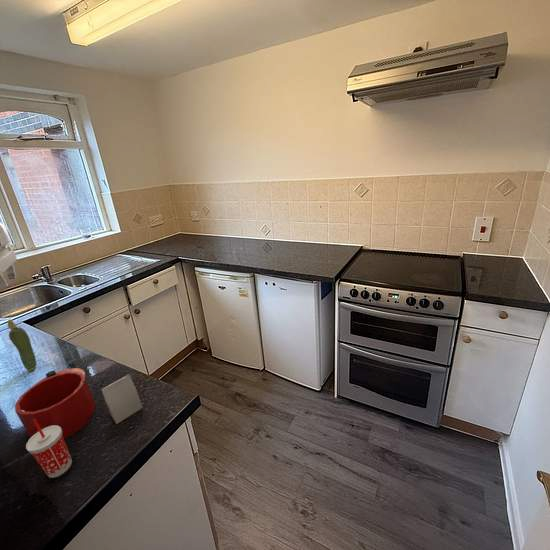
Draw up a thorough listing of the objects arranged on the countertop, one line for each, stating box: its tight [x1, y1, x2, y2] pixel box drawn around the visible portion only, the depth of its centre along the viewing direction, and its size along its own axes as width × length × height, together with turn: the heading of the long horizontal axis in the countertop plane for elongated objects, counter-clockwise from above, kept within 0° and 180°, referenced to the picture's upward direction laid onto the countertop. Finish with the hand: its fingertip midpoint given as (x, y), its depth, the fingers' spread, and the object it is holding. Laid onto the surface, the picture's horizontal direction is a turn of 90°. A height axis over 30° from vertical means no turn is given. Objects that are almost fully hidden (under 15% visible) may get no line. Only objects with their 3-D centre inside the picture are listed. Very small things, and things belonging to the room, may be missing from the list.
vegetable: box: [7, 318, 37, 373], centre depth 98 cm, size 4×4×20 cm
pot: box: [14, 371, 97, 439], centre depth 77 cm, size 15×15×10 cm
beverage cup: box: [25, 419, 73, 479], centre depth 63 cm, size 6×6×14 cm
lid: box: [34, 367, 87, 385], centre depth 90 cm, size 16×16×6 cm
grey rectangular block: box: [101, 374, 144, 425], centre depth 77 cm, size 4×7×10 cm, turn 135°
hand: (9, 282), depth 95 cm, fingers open, 8 cm apart
